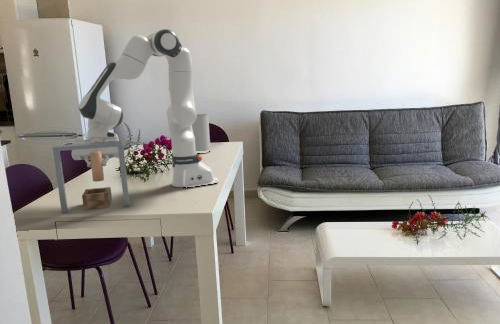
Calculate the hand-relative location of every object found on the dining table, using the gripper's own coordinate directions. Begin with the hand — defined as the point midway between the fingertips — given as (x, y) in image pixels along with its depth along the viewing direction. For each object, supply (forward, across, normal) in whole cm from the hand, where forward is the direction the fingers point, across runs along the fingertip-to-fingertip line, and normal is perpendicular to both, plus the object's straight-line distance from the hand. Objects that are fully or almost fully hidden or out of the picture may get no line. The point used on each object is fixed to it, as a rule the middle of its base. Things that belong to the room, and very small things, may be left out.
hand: (96, 165), depth 181 cm
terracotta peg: (+4, 0, +5) cm, 6 cm away
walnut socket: (+14, 0, +9) cm, 16 cm away
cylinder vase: (-61, +51, +82) cm, 115 cm away
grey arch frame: (+17, 0, +6) cm, 18 cm away
